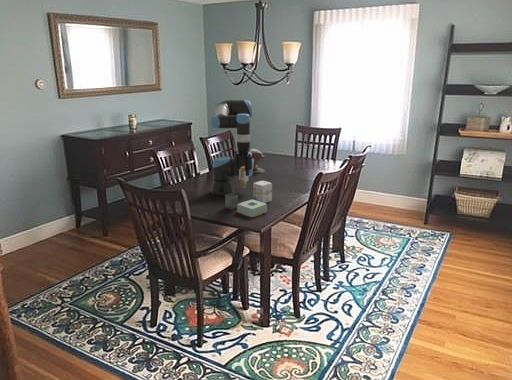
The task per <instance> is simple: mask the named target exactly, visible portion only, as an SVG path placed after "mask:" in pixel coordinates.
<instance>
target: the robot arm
mask: <svg viewBox="0 0 512 380" xmlns="http://www.w3.org/2000/svg"><path fill="white" fill-rule="evenodd" d="M213 111H214V114H215V115H212V116H211V117H210V118H211V119H210V120H211V121H210V122H211V123H210V124H211V128H212V129H235V150H234V156H233V158H231V156H220V157H216V158H214V159H213V160H212V186H211V188H210V193H211V194H212V195H213V196H218V197H219V196H224V197H225V195H227V194H230V193H234V192H235V189H234V186H233V183H232V178H238V179H239V181H241V179H240V167H245V170H244V181H245V182H246V181H247V182H248V181H249V178H250V177H252V175H253V174H254V173H253V164H254V159H252V156H253V154H251V153H250V152H249V150H250V148H251V142H250V140H251V131H250V130H251V124H250V123H251V118H253V108H252V104H251V101H250V100H248V99H247V100H245V99H237V100H236V99H234V100H233V99H226V100H223V101H220V102H219V103H217V104H216V106H215V107H214V110H213ZM234 194H235V193H234Z"/></svg>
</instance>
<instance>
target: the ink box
mask: <svg viewBox="0 0 512 380" xmlns="http://www.w3.org/2000/svg"><path fill="white" fill-rule="evenodd" d="M252 191H253V192H252V194H253V197H252V198H253V200H256V201H259V202H263V203H266V204H267V203H269V202H272V201H273V183H272V182H269V181H266V180H259V181H255V182H253V190H252Z"/></svg>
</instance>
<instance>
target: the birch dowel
mask: <svg viewBox="0 0 512 380" xmlns="http://www.w3.org/2000/svg"><path fill="white" fill-rule="evenodd" d="M244 170H245V167H240V179H241V180H240V188H242V189H245V188H247V186H248V184H247V183H248V181H246V182H245V181H244Z"/></svg>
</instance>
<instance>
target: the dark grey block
mask: <svg viewBox="0 0 512 380" xmlns="http://www.w3.org/2000/svg"><path fill="white" fill-rule="evenodd" d="M224 204H225V206H224V207H225V209H227V210H230V211H233V210H237V204H239V194H237V193H230V194H227V195H225V196H224Z"/></svg>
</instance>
